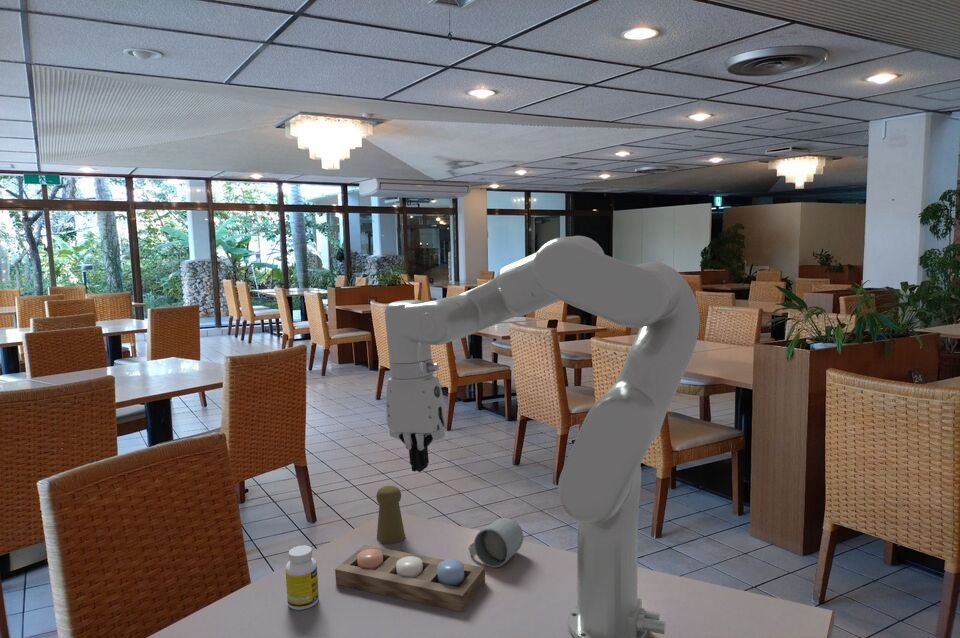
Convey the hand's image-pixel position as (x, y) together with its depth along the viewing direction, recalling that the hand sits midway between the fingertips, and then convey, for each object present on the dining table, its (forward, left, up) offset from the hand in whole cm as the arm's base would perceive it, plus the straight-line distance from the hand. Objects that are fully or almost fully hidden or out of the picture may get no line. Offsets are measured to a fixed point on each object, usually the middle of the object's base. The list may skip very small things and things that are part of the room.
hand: (420, 468), depth 120 cm
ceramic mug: (-9, -13, -22) cm, 27 cm away
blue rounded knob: (-6, +1, -20) cm, 21 cm away
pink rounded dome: (+11, +1, -21) cm, 24 cm away
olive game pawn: (+15, -14, -22) cm, 30 cm away
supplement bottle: (+17, +13, -22) cm, 31 cm away
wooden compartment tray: (+2, +1, -22) cm, 22 cm away
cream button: (+2, +1, -21) cm, 21 cm away
